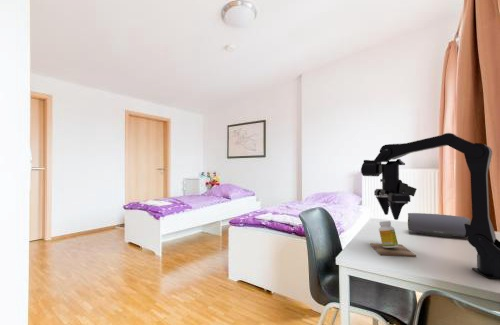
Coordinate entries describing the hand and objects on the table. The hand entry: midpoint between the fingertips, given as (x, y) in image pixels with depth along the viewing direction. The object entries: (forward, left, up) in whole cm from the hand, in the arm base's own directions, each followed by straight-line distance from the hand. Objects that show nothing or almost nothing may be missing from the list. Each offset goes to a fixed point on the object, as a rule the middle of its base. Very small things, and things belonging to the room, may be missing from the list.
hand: (390, 217), depth 95 cm
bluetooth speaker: (+24, -29, -13) cm, 40 cm away
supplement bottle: (0, 0, -12) cm, 12 cm away
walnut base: (0, 0, -14) cm, 14 cm away
